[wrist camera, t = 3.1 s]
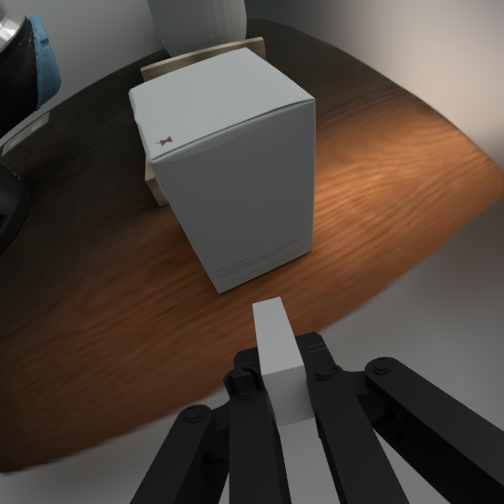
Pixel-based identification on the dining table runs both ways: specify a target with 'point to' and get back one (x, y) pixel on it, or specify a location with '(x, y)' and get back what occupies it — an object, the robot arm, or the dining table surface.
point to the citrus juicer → (198, 23)
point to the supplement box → (233, 161)
